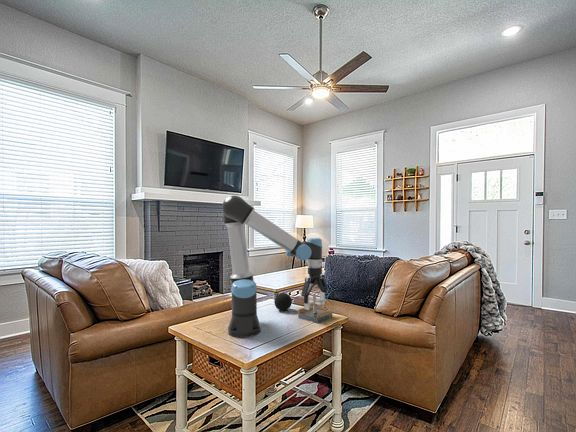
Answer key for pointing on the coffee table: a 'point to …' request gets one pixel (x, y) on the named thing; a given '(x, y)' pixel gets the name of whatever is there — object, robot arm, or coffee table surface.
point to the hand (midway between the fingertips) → (314, 306)
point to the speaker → (283, 301)
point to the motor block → (314, 314)
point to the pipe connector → (315, 303)
